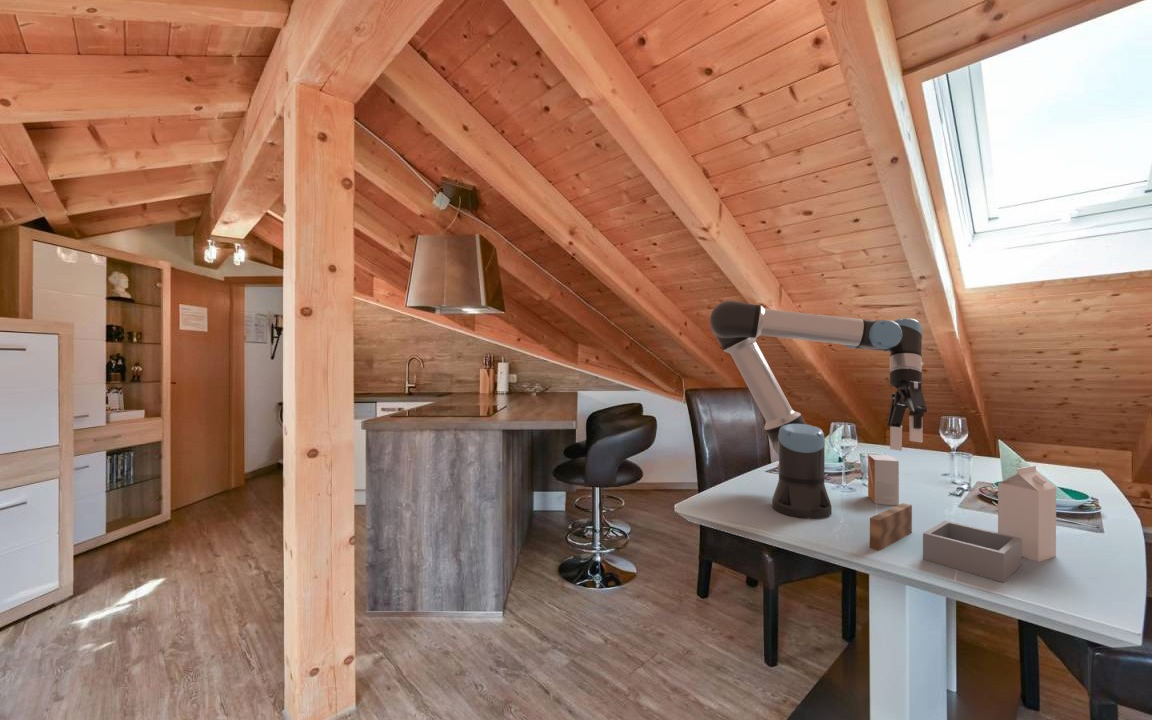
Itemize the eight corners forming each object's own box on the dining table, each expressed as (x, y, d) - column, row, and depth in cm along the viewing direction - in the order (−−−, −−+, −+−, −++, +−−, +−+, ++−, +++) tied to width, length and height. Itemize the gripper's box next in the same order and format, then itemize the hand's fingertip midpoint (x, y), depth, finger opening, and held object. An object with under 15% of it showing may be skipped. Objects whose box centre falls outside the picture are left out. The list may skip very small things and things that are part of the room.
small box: (867, 496, 147) (867, 454, 147) (891, 498, 145) (891, 455, 145) (874, 503, 139) (874, 459, 139) (899, 506, 137) (899, 461, 137)
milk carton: (997, 550, 106) (997, 465, 106) (1015, 545, 108) (1015, 462, 108) (1038, 563, 99) (1039, 472, 99) (1056, 557, 102) (1056, 469, 102)
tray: (1003, 582, 90) (1003, 553, 90) (922, 559, 100) (923, 533, 100) (1021, 564, 98) (1021, 538, 98) (944, 544, 108) (944, 520, 108)
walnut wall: (879, 551, 105) (879, 520, 105) (869, 548, 107) (869, 517, 107) (911, 533, 115) (911, 505, 115) (902, 531, 117) (902, 503, 117)
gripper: (941, 358, 122) (943, 440, 116) (903, 385, 145) (903, 454, 139) (908, 355, 124) (908, 435, 118) (875, 382, 147) (874, 450, 141)
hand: (905, 445), depth 129 cm, fingers open, 13 cm apart
